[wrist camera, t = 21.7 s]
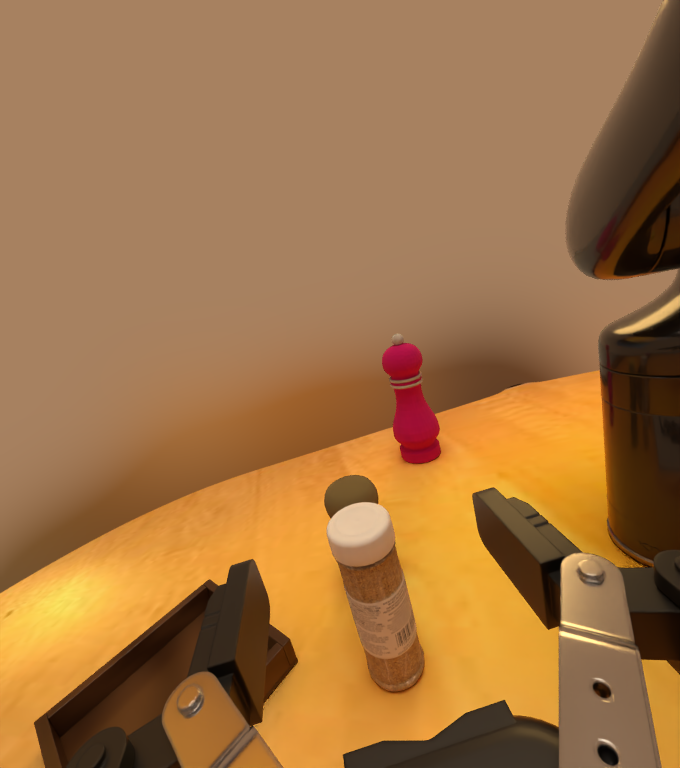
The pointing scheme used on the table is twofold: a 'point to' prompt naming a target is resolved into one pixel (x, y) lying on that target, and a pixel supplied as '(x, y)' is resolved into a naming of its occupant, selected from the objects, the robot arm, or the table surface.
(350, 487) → the olive chess pawn
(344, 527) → the sprinkles bottle
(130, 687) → the tray
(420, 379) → the pepper mill
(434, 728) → the table surface
